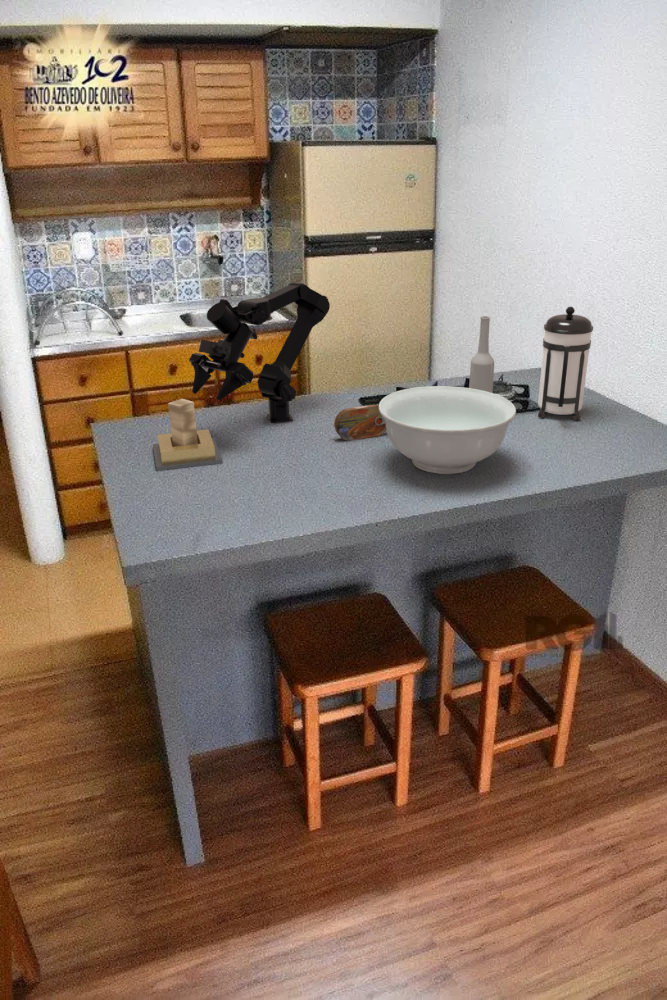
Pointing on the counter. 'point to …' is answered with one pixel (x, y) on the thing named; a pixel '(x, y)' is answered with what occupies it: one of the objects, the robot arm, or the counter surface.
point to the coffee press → (564, 364)
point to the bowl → (446, 425)
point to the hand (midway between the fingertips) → (205, 396)
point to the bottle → (482, 361)
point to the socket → (186, 452)
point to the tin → (360, 423)
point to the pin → (183, 422)
